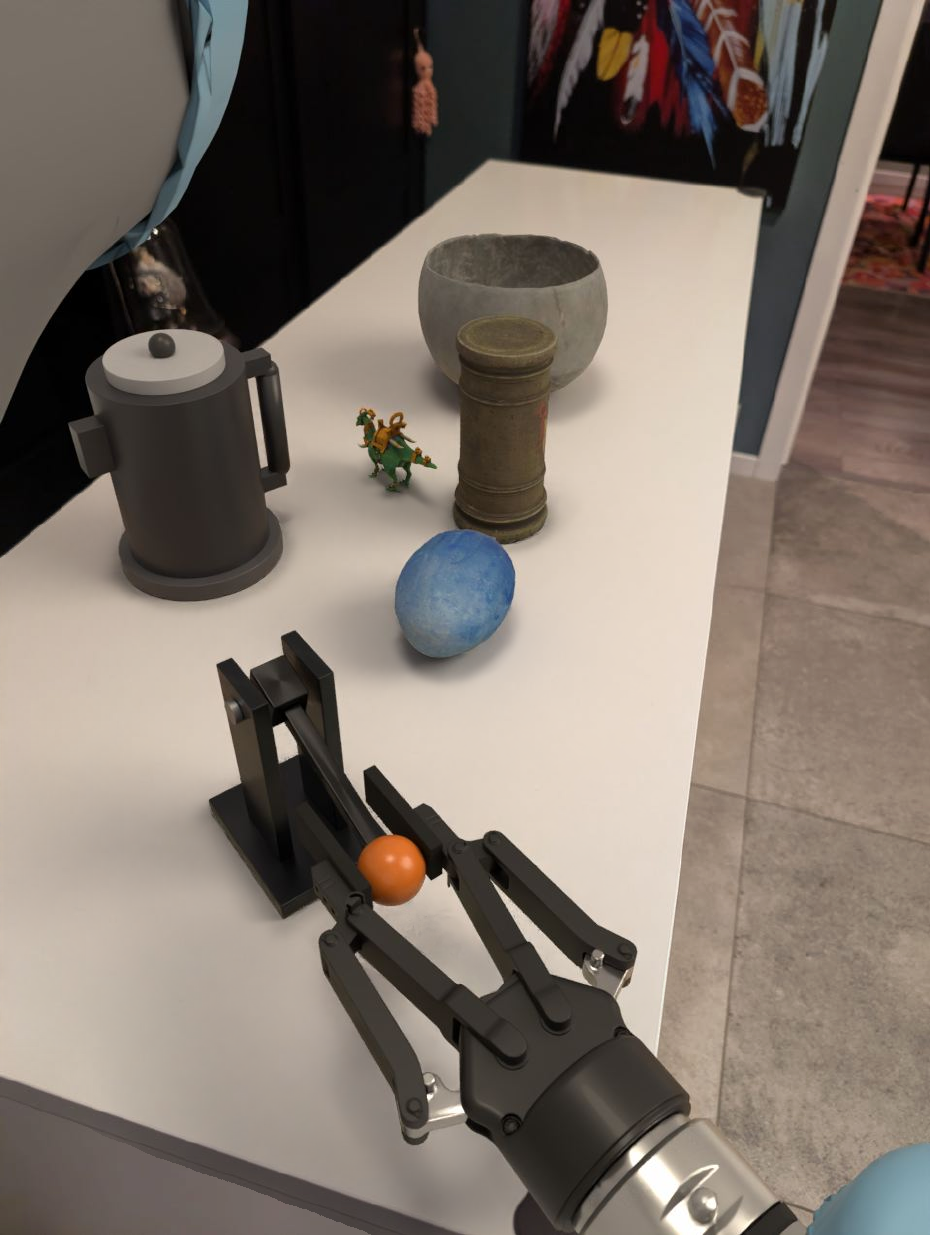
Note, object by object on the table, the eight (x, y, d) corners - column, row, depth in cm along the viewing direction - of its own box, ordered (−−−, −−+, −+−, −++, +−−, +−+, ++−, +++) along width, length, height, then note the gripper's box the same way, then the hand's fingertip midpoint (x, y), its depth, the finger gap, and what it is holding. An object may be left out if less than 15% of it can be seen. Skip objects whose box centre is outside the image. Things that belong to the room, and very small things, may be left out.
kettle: (149, 627, 78) (88, 399, 64) (87, 544, 86) (22, 327, 73) (334, 553, 86) (313, 336, 72) (260, 483, 94) (230, 278, 81)
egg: (523, 476, 77) (449, 589, 66) (559, 564, 81) (494, 682, 71) (433, 492, 81) (351, 599, 71) (472, 573, 86) (399, 686, 76)
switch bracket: (394, 854, 61) (384, 689, 52) (283, 919, 58) (250, 755, 48) (316, 757, 67) (294, 594, 58) (210, 811, 64) (169, 646, 54)
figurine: (371, 456, 98) (367, 382, 93) (449, 505, 92) (449, 429, 86) (347, 466, 97) (341, 392, 91) (424, 517, 90) (423, 441, 85)
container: (490, 555, 86) (497, 368, 74) (433, 509, 91) (431, 328, 79) (567, 522, 90) (585, 340, 78) (508, 479, 95) (516, 303, 83)
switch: (432, 892, 51) (445, 870, 48) (375, 928, 50) (385, 907, 47) (292, 674, 57) (296, 643, 54) (237, 700, 55) (237, 668, 52)
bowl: (635, 401, 108) (654, 268, 98) (482, 449, 100) (486, 309, 90) (530, 334, 121) (537, 211, 111) (387, 371, 113) (382, 242, 103)
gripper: (789, 1011, 40) (459, 690, 54) (471, 1290, 33) (183, 832, 47) (752, 1089, 45) (457, 776, 59) (467, 1348, 37) (207, 917, 52)
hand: (337, 801), depth 53 cm, fingers closed on switch, 4 cm apart
